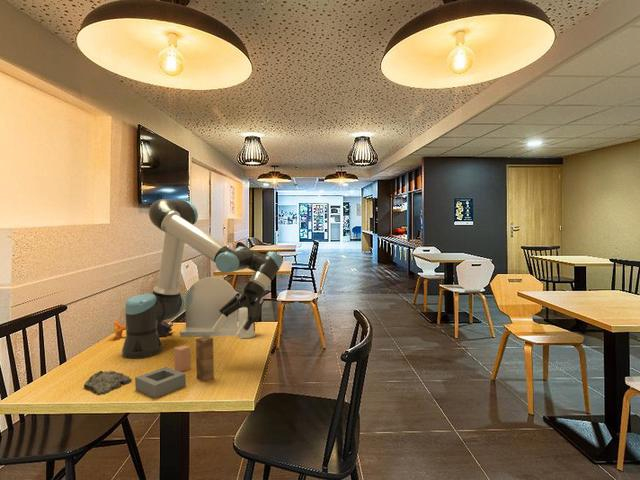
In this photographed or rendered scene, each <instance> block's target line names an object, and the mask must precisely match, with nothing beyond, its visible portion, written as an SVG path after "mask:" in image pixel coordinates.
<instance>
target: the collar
mask: <svg viewBox="0 0 640 480" xmlns="http://www.w3.org/2000/svg"><path fill="white" fill-rule="evenodd" d="M186 378H187V377H186V373H184V372H180V371H177V370H175V369H173V368H170V367H168V366H165V367H161V368H159V369H156V370H152V371H150V372H147V373H144V374H141V375H139V376H136V377H134V381H135V383H134V384H135V385H134V386H135V390H136V391H138V392H140V393H142V394H144V395H146V396H149V397H152V398H154V399H158V398H159V397H162V396H163V395H166V394H167V395H168V393H171V392H174V391H176V390H178V389H181V388H183V387H186V386H187V380H186Z"/></svg>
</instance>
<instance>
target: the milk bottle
mask: <svg viewBox="0 0 640 480" xmlns="http://www.w3.org/2000/svg"><path fill="white" fill-rule="evenodd" d="M247 317H248V308H246V307H242V308H239V309H238V311H237V318H238V330H239V329H240V327H241V326H242V324H243V322H244V321H245V319H247ZM247 320H248V319H247ZM255 336H256V322H254V323H252V325H251V326H250V328H249V329H248V330H247V331H246V333H245V335H244V336H243V338H242V339H252V338H254V337H255Z"/></svg>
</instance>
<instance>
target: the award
mask: <svg viewBox="0 0 640 480" xmlns="http://www.w3.org/2000/svg"><path fill="white" fill-rule="evenodd" d="M235 290H236V289H235V288H234V287H233V286H232V285H231V283H230V282H228V281H227V280H225V279H223V278H221V277H219V276H207V277H203V278H201V279H199V280H197V281H196V282H194V283H193V284H192V285H191V286H190V287H189V289H188V290H187V293H186V295H185V299H184V307H185V327H184V328H183V329H182V330H181V331H179V336H180V338H185V337H186V338H187V337H189V338H190V337H204V336H207V337H227V336H229V337H230V336H233V337H234V336H236V334H237V332H238V309H237V310H236V311H234V312H233V313H231V314H230V315H228V316H227V320H226V321H225V323H224V324H223V326H222V327H221V329H220V330H219V332H218V333H217V332H216V331H214V330H213V329H212V328H213V327H214V325H215V324H216V322H217V320H218V318H219V317H220V315H221V312H220V311H219V310H220V309H221V308H222V307H223V306H225V305H226V304H227V303H228V302H229V301H230V300H231V299H232V298H234V296H235V295H236V294H237V292H236V291H235Z"/></svg>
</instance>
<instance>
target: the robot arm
mask: <svg viewBox="0 0 640 480" xmlns="http://www.w3.org/2000/svg"><path fill="white" fill-rule="evenodd" d="M148 216H149V220H150V222H151V223H152V224H153V226H155V228H157V229H159V230H160V231H161V232H164V240H163V245H162V246H163V247H162V252H161V253H162V254H161V259H160V266H159V267H160V268H159V273H158V279H157V285H156V286H154V288H153V289H152V293H142V294H138V295H134V296H132V297H130V298H128V299H127V300H126V301H125V309H124V313H125V326H126V330H125V332H126V335H125V340H124V343H123V345H122V349H121V355H122V357H124V358H127V359H141V358H148V357H152V356H154V355H155V356H156V355H157V354H160V353H161V352H162V351H163V344H162V341H161V339H160V336H158V333H157V323H158V322H161V321H164V322H165V321H167V320H171V319H173V318H174V317H177V316H178V315H180V314H181V312H182V311H183V309H184V307H185V299H184V298H183V295H182V293H181V292H182V291H181V289H180V287H179V282H180V275H181V270H182V264H183V256H184V251H185V244H186V245H188V246H189V247H191V248H192V249H193V250H195V251H197V252H198V253H200V254H201V255H203V256H204V257H206V258H207V259H208V260H210V261H212V262H213V263H215V267H216V268H217V270H218V271H219V272H221V273H224V274H226V273H227V274H228V273H229V274H230V273H234V272H236V271H242V270H245V269H247V270H251V271H254V273H253V274H252V276H251V277H250V279H249V280H248V282H247V283H246V285H245V287H243V293H242V294H241V293H239V292H236V295H235V296H234V298H232V299H231V300H230V301H229V302H228V303H227V304H226V305H225V306H223V307H222V308H221V309H220V310H219V311H220V312H221V315H220V317H219V318H218V320H217V322H216V324H215V325H214V327H213V328H212V329H213V330H214V331H216V332H217V333H218V332H219V330H220V329H221V327H222V326H223V324H224V323H225V321H226V320H227V316H228V315H230V314H231V313H233V312H234V311H236V310H237V311H238V310H239V308H242V307H246V308H248V317H247V319H248V320H247V319H245V321H244V322H243V324H242V326H241V327H240V329H239V330H238V332H237V334H236V335H235V336H236V337H237V338H239V339H240V340H242V339H244V338H243V336H244V335H245V333H246V331H247V330H248V329H249V328H250V326H251V325H252V323H254V322H255V324H257V323H259V321H260V316H261V312H262V306H263V303H264V302H265V300H264V299H263V298H262V297H264V294H265V292H266V291H267V289H268V287H269V286H270V285H271V283H272V281H273V279H274V278H275V276H276V275H277V274H278V272H279V271H280V269H281V267H282V265H283V263H284V260H283V257H282V256H281V254H279V253H277V252H276V251H268V252H266V253H265V254H264V253H260V252H258V251H255V250H253V249H250V248H249V247H244V246H238V247H237V248H235V249H234V250H232V248H230V247H228V246H226V245H225V244H224V243H222V242H220V241H219V240H218V239H216V238H214V237H213V236H211V235H210V234H208V233H206V232H205V231H203V230H202V229H200V228H199V227H197V226H195V224H196V223H197V221H198V218H199V217H198V216H199V213H198V210H197V208H196V206H195V205H194V204H193V203H192V202H190V201H188V200H184V199H172V198H170V199H169V198H160V199H157V200H155V201H154V202H153V203H152V204H151V205H150V207H149V210H148Z"/></svg>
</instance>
